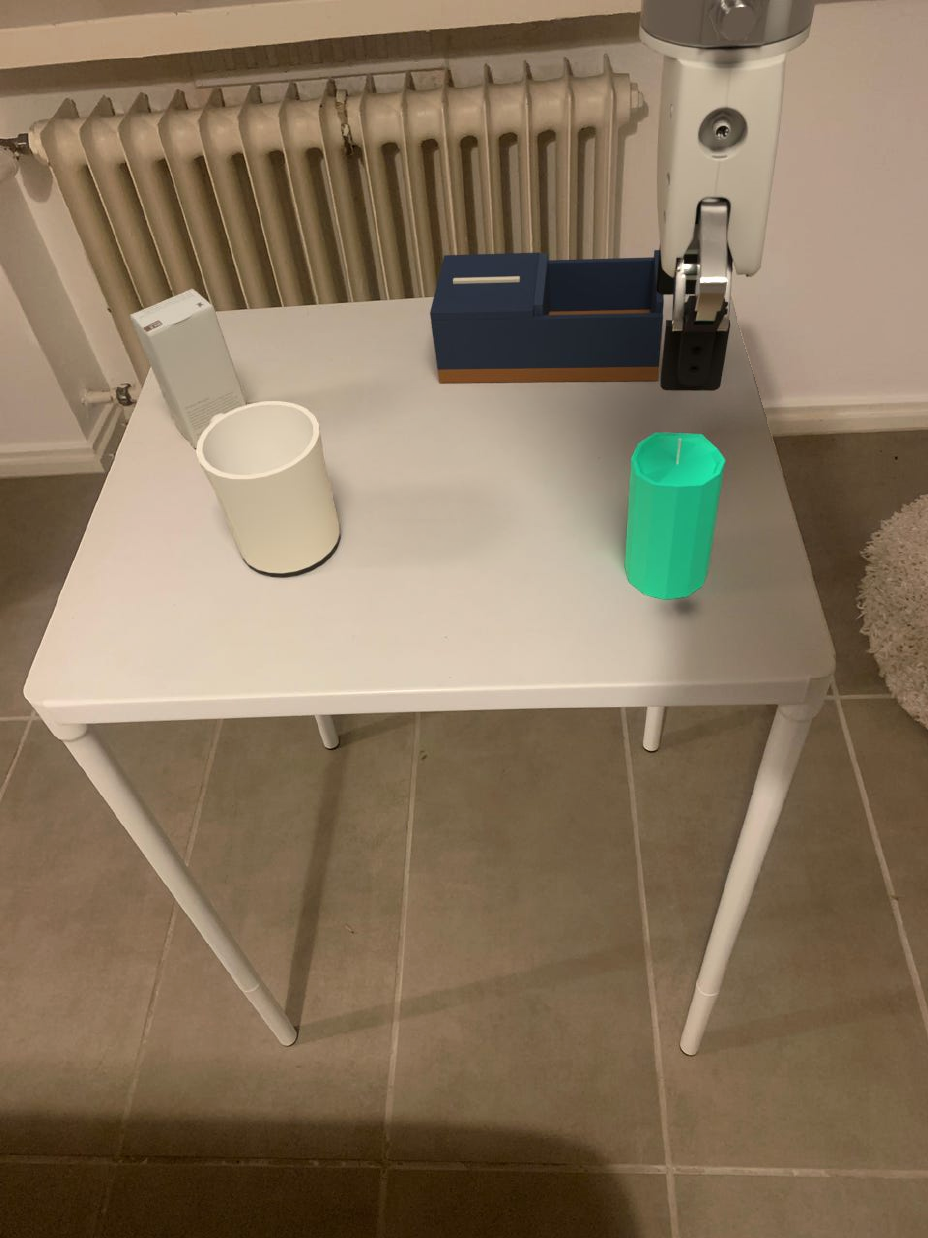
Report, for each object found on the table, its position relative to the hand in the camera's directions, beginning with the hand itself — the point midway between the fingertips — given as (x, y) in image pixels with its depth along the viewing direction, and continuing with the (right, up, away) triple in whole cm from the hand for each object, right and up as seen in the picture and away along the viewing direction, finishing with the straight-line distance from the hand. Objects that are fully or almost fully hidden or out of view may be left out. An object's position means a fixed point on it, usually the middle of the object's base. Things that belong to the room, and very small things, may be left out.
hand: (685, 336), depth 54 cm
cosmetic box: (-36, +1, +31) cm, 47 cm away
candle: (+2, -13, +15) cm, 20 cm away
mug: (-27, -10, +21) cm, 36 cm away
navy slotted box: (-5, +9, +34) cm, 36 cm away
